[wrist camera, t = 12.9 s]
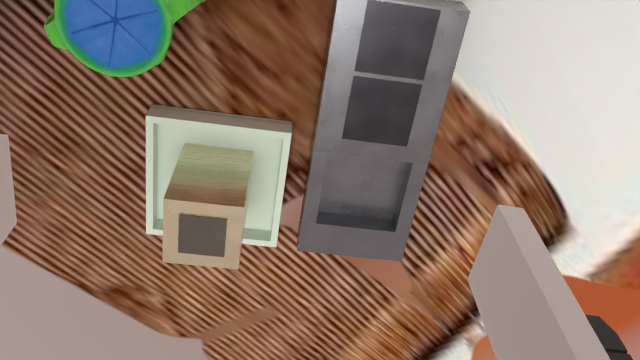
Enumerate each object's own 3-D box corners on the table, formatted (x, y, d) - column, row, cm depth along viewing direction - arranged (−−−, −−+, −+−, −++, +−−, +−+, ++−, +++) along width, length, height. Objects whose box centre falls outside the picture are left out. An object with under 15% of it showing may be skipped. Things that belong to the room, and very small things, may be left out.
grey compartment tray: (297, 234, 58) (297, 251, 55) (337, -16, 45) (338, -8, 43) (397, 245, 59) (401, 261, 56) (462, 2, 46) (470, 11, 44)
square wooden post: (182, 200, 55) (162, 263, 47) (184, 142, 52) (162, 199, 44) (247, 207, 55) (238, 270, 47) (253, 150, 52) (244, 208, 44)
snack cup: (199, -68, 43) (181, -50, 37) (222, 34, 47) (209, 66, 41) (49, -46, 44) (6, -24, 38) (84, 53, 48) (50, 88, 42)
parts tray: (151, 219, 56) (146, 233, 54) (151, 104, 50) (145, 115, 48) (277, 232, 57) (276, 247, 55) (292, 121, 51) (291, 133, 49)
